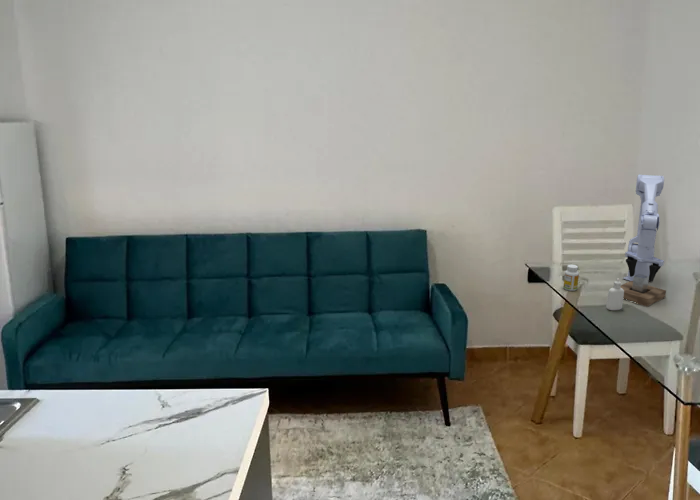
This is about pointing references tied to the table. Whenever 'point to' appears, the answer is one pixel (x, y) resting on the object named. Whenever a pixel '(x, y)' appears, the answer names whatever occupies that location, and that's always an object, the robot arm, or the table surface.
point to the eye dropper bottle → (615, 296)
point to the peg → (640, 283)
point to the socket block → (646, 298)
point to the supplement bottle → (571, 278)
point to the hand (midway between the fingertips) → (641, 278)
